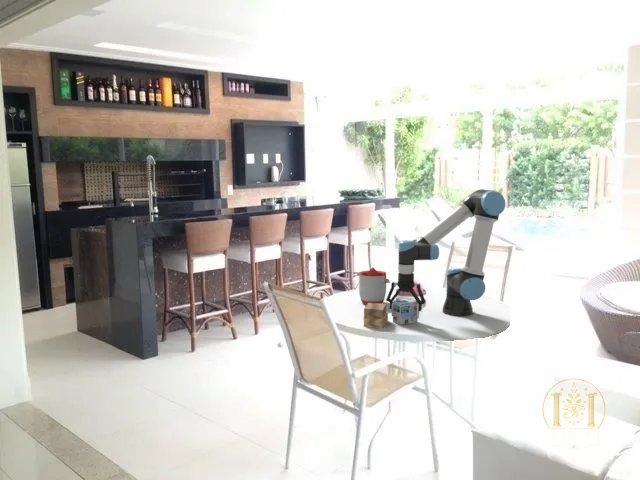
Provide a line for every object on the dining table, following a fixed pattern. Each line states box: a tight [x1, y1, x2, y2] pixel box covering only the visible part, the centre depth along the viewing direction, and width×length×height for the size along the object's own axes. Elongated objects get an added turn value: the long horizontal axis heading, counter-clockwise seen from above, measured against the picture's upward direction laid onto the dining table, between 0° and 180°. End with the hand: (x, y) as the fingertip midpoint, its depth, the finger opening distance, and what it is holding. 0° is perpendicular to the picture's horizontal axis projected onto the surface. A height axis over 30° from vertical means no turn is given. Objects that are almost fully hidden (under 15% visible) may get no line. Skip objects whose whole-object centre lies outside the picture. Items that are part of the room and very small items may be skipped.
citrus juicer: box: [358, 267, 391, 305], centre depth 323 cm, size 16×17×20 cm
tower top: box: [363, 303, 387, 319], centre depth 282 cm, size 9×12×4 cm
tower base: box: [363, 312, 389, 329], centre depth 283 cm, size 9×12×4 cm
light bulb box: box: [392, 298, 419, 326], centre depth 285 cm, size 11×7×11 cm, turn 118°
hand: (405, 316), depth 285 cm, fingers closed on light bulb box, 11 cm apart
